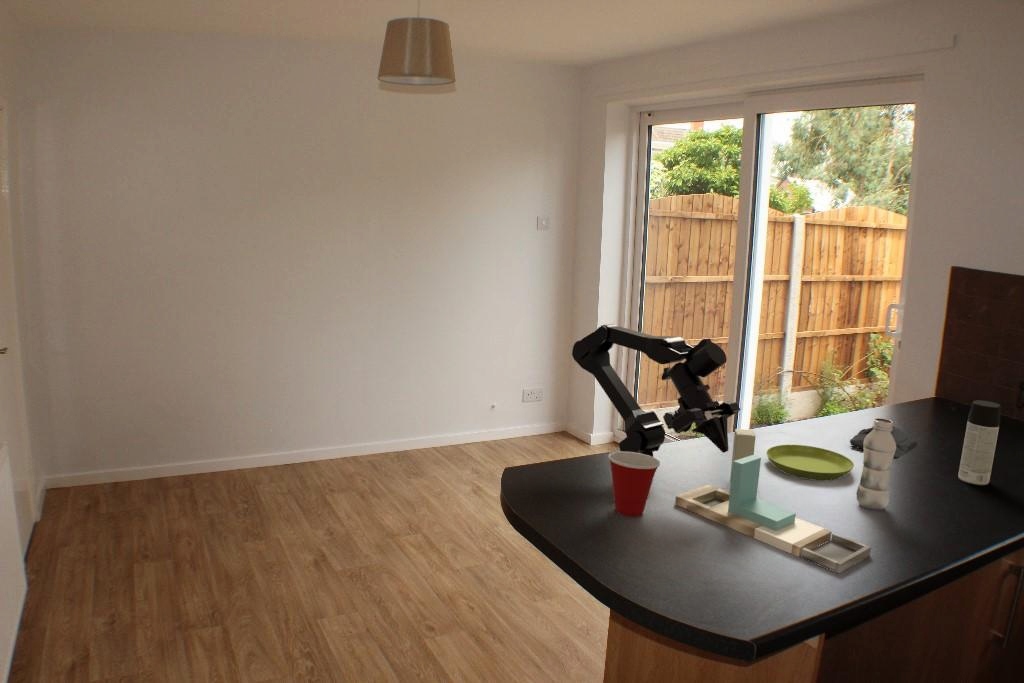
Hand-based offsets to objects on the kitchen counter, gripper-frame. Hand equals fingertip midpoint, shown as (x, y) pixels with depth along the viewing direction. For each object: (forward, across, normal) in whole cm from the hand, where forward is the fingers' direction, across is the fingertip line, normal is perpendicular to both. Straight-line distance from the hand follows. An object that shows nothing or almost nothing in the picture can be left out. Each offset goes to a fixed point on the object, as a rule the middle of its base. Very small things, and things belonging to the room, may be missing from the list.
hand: (725, 451), depth 157 cm
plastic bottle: (+22, -29, +8) cm, 38 cm away
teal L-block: (+15, 0, 0) cm, 15 cm away
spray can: (+28, -68, +16) cm, 76 cm away
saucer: (+9, -42, -8) cm, 44 cm away
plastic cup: (+3, +16, -18) cm, 24 cm away
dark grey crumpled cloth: (+10, -79, -4) cm, 80 cm away
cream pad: (+21, +1, +4) cm, 21 cm away
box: (+6, -18, -12) cm, 22 cm away
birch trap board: (+17, 0, 0) cm, 17 cm away
